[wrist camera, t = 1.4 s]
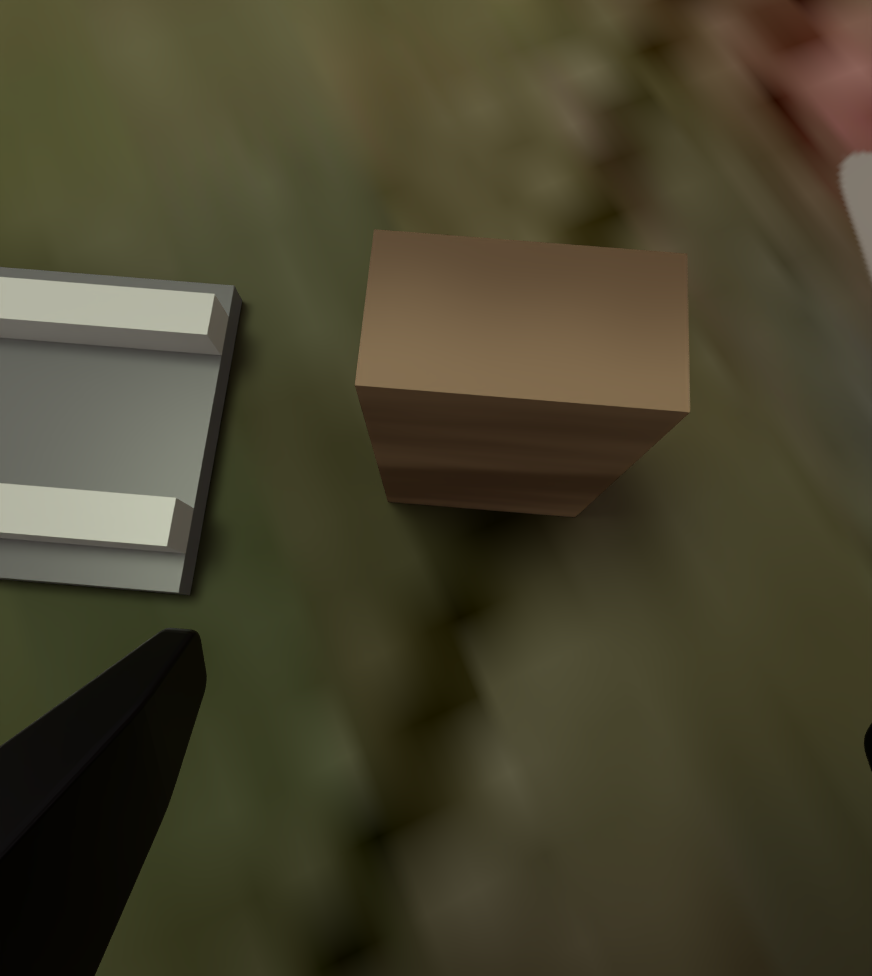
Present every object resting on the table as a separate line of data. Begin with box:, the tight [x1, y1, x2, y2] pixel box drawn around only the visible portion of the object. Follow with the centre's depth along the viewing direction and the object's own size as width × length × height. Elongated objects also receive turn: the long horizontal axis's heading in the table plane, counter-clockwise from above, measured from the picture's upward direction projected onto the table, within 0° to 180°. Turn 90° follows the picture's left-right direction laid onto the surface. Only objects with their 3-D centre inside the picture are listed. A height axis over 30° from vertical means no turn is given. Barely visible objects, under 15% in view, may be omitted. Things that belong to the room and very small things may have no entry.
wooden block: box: [355, 229, 690, 517], centre depth 18 cm, size 4×6×10 cm, turn 85°
